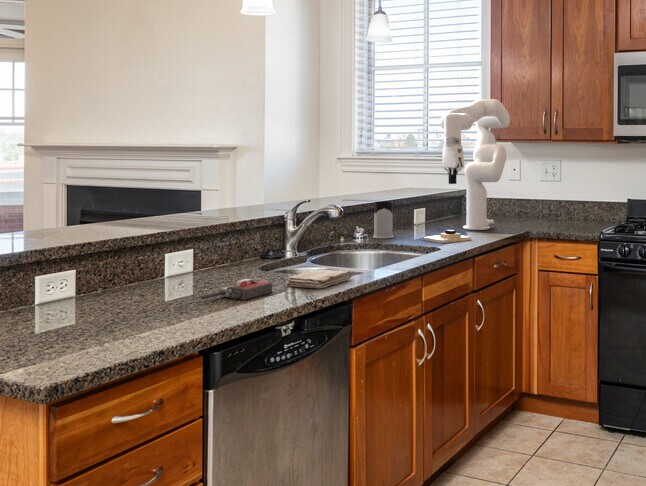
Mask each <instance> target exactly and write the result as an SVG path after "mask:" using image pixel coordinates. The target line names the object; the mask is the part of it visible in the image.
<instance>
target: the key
mask: <svg viewBox="0 0 646 486" xmlns="http://www.w3.org/2000/svg"><path fill="white" fill-rule="evenodd" d="M444 233H445V234H456V233H457V230H455V229H445V230H444Z"/></svg>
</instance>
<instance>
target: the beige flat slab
mask: <svg viewBox="0 0 646 486" xmlns="http://www.w3.org/2000/svg"><path fill="white" fill-rule="evenodd" d="M423 241H425V242H432V243H438V244H448V243H458V242H465V241H472V236H469V235H462V233H458V232H456V234H445V232H441V233H439V235H430V236H423Z"/></svg>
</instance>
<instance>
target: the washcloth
mask: <svg viewBox="0 0 646 486" xmlns="http://www.w3.org/2000/svg"><path fill="white" fill-rule="evenodd" d="M352 276H353V272H352V271H349V270H343V269H342V270H331V269H315V270H310V271H306V272H302V273H299V274H295V275H292V276H288V277H287V278H286V281H287V283H286V286H287V287H292V288H310V289H316V290H317V289H318V290H319V289H324V288H327V287H329V286H332V285H336V284H340V283H342V282H346V281H348V280H351V279H352Z"/></svg>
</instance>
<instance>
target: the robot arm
mask: <svg viewBox="0 0 646 486" xmlns="http://www.w3.org/2000/svg"><path fill="white" fill-rule="evenodd" d="M474 123H475V126H476V132H477V141H476V144H475V147H474V150H473V154H472V157H473V161H471V162H468V163H467V164H465V155H464V148H463V145H462V131H469V130H471V129H472V127H473V124H474ZM510 123H511V117H510V114H509V112H508V110H507V109H506V107H505V106H504V104H503V103H502V102H501V101H500V100H498V99H496V98H482V99H481V98H479V99H477V100H474V101H473V102H471V103H469V104H467V105H465V106H461V107H457V108H454V109H450V110H448V111H446V112H445V113H443V114H442V116H441V118H440V126H441V128H442V129H443V147H442V154H441V165H442V167H443V170H444V171H446V173H447V175H448V184H449V185H456V184H457V175H458V173H459V172H461V171H462V168H464V178H465V183H466V184H465V186H466V189H465V190H466V210H465V211H466V212H465V213H466V215H465V216H466V222H465V223H466V224H465V225H463V226H462V229H463V230H466V231H467V230H468V231H486V230H490V229H491V226H490V225H493V224H494V223H495V220H494V219H489V218H488V217H487V215H488V214H487V211H488V210H487V209H488V205H487V204H488V202H487V201H488V197H487V196H488V192H487V189H486V187H485V185H484V184H483V183H497V182H499V181H500V180H501V178H502V175H503V171H504V167H505V165H506V161H507V149H506V147H505V146H504V145H502V144H496V137H495V135H494V133H493V132H492V131H491V130H490V129H506V128H507V127H508V126H509V125H510Z"/></svg>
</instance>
